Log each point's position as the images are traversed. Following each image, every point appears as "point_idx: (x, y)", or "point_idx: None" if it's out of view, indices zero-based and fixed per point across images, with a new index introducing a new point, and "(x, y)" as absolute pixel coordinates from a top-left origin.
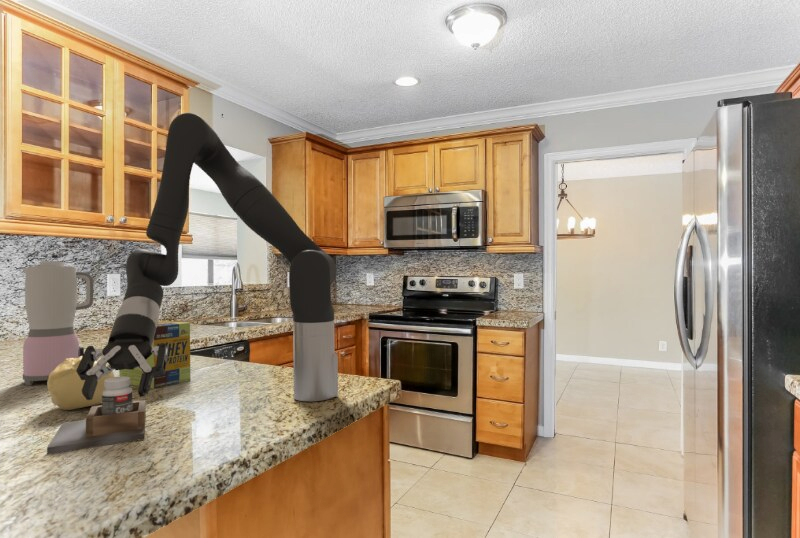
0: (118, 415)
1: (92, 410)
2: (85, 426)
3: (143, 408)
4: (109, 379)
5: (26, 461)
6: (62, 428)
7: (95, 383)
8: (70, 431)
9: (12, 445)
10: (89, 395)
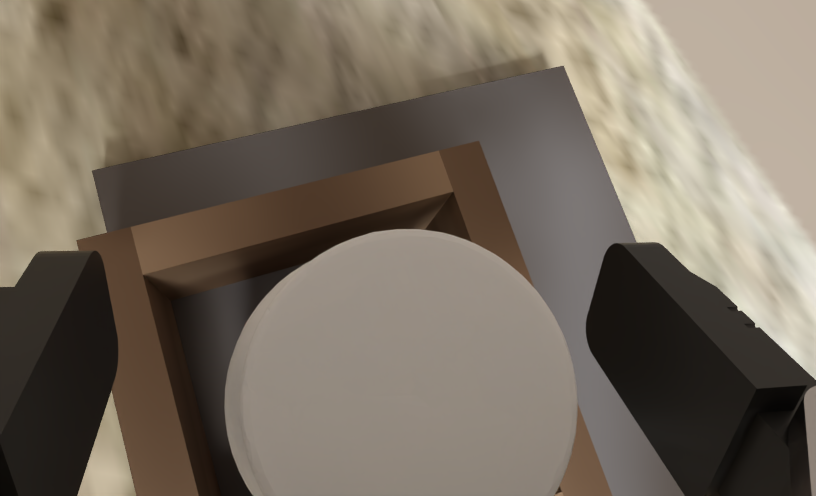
0: (276, 192)
1: None
2: None
3: None
4: (512, 361)
5: (586, 18)
6: None
7: (684, 430)
8: None
9: (798, 258)
10: (605, 277)
